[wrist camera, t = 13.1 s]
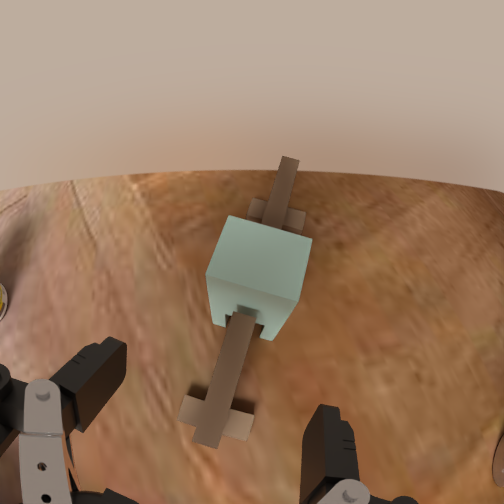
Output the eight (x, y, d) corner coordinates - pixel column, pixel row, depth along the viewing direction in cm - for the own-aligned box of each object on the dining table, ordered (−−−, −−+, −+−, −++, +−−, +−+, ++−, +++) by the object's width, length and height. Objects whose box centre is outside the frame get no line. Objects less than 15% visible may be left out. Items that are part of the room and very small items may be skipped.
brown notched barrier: (304, 216, 34) (322, 167, 27) (245, 442, 23) (252, 458, 16) (252, 202, 34) (259, 150, 27) (177, 422, 23) (158, 429, 16)
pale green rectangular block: (283, 297, 29) (312, 239, 20) (272, 341, 27) (298, 301, 18) (227, 281, 30) (228, 215, 20) (212, 323, 28) (205, 274, 18)
